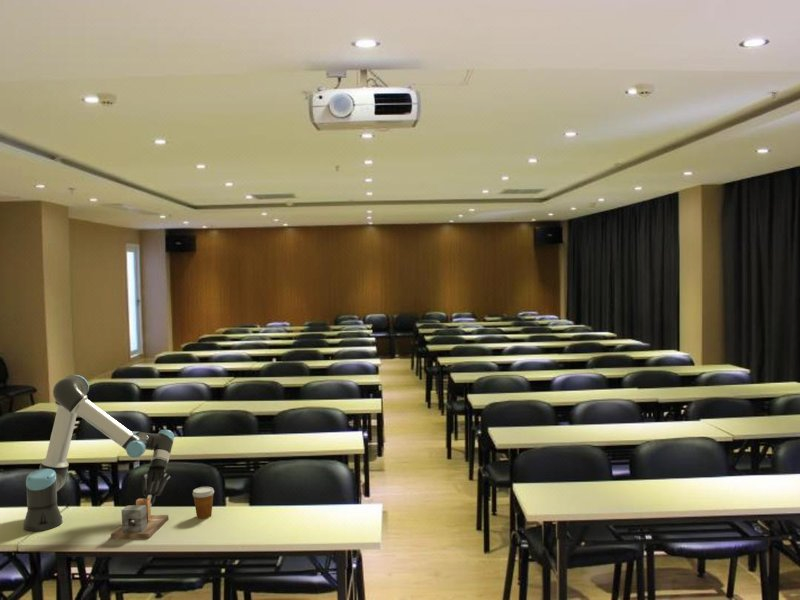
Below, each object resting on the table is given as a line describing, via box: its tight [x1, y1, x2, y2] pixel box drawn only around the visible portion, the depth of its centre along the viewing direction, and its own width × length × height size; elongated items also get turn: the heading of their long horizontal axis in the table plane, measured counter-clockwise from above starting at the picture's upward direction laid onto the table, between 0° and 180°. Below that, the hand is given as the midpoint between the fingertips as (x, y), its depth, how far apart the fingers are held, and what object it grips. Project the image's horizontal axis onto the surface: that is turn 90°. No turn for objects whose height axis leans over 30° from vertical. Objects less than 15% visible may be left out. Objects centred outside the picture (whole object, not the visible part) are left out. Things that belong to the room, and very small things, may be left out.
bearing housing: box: [110, 504, 170, 540], centre depth 299 cm, size 16×22×11 cm
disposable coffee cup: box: [192, 486, 215, 520], centre depth 313 cm, size 10×10×12 cm
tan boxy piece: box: [130, 498, 152, 524], centre depth 298 cm, size 5×13×9 cm, turn 178°
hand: (147, 510), depth 305 cm, fingers closed
